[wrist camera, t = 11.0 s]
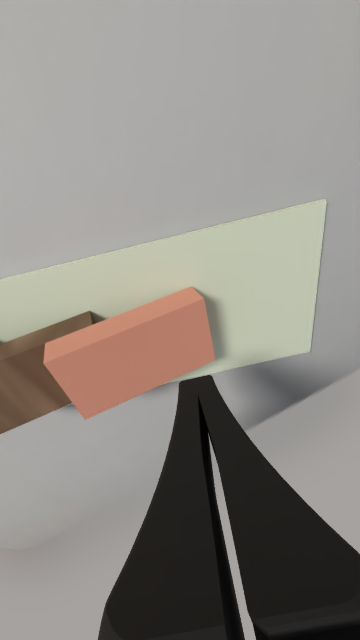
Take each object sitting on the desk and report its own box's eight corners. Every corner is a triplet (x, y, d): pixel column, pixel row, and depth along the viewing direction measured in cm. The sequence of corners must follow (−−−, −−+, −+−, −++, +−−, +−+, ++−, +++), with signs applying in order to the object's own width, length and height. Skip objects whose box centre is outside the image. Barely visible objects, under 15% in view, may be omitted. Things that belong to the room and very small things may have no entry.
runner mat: (323, 198, 13) (326, 200, 12) (307, 348, 18) (310, 351, 18) (-339, 363, 14) (-348, 366, 14) (-161, 453, 20) (-165, 457, 20)
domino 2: (204, 298, 13) (43, 363, 12) (215, 360, 16) (84, 419, 14) (191, 286, 14) (45, 343, 13) (203, 345, 17) (83, 398, 15)
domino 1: (91, 325, 13) (-78, 390, 12) (121, 381, 16) (-16, 441, 14) (89, 310, 15) (-65, 368, 13) (117, 364, 17) (-9, 417, 16)
